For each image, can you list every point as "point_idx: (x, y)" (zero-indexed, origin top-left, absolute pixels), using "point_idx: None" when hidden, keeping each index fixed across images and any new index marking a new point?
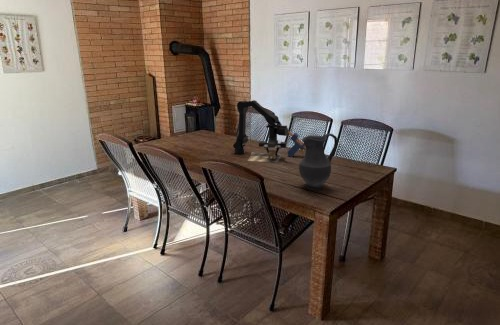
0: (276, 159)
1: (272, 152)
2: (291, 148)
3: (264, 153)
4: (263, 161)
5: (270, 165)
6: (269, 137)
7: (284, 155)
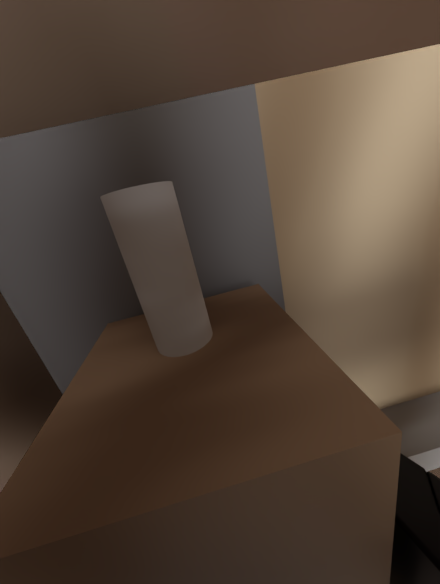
0: None
1: (150, 485)
2: None
3: None
4: (326, 86)
5: (95, 13)
6: None
7: None
